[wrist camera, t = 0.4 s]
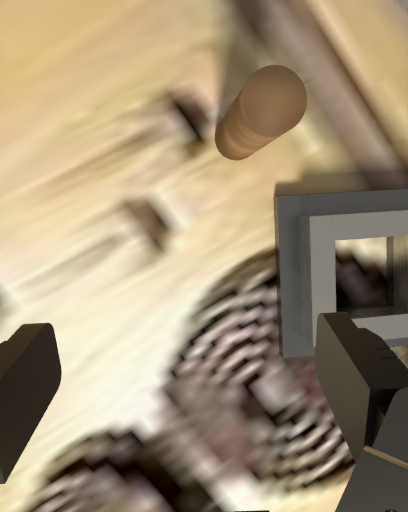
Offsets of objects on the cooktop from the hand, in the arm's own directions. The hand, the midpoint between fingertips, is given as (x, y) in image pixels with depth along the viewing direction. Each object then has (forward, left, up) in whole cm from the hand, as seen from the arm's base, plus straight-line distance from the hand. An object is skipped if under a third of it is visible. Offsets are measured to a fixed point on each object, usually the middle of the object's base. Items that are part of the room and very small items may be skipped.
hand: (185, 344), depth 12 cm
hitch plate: (+2, +16, -21) cm, 27 cm away
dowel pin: (-10, +6, -21) cm, 24 cm away
